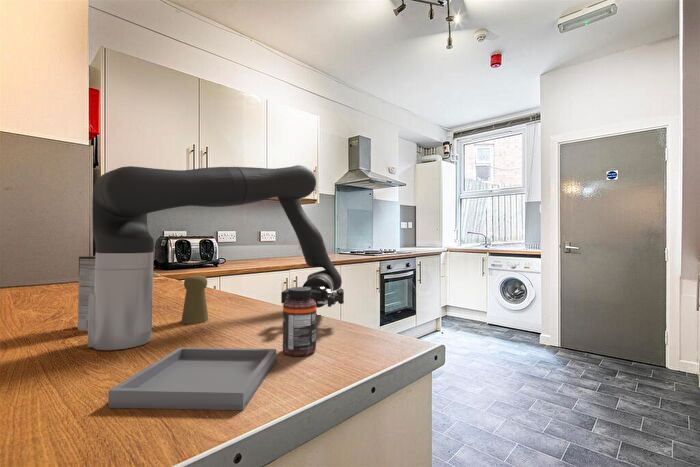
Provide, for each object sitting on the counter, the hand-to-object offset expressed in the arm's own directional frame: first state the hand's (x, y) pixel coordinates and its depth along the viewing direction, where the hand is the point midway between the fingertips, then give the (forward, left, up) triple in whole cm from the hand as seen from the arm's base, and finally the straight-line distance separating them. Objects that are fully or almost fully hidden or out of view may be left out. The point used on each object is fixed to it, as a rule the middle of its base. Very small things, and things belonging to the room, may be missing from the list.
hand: (309, 301), depth 72 cm
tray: (-11, -24, -7) cm, 28 cm away
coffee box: (-46, +4, -7) cm, 47 cm away
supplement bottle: (0, -11, -7) cm, 13 cm away
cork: (-29, +10, -7) cm, 32 cm away
